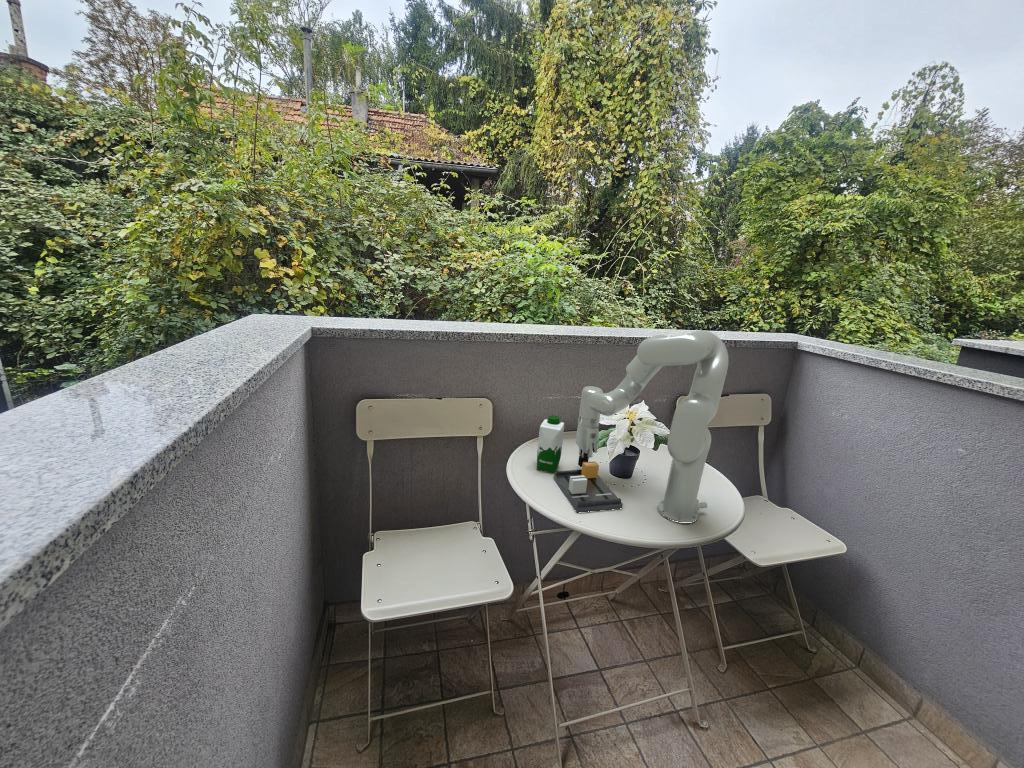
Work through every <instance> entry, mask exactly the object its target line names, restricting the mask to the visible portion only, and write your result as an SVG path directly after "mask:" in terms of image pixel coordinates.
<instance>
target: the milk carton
mask: <svg viewBox="0 0 1024 768" xmlns="http://www.w3.org/2000/svg"><path fill="white" fill-rule="evenodd" d="M564 431H565V422H564V421H563V422H562V421H560V417H559V416H557V415H553V414H551V415H549V416H548V419H546V418H545V419H544V420H543V421H542V423H541V424H540V426H539V430H538V433H539V434H538V440H537V450H536V451H537V452H536V470H537V471H541V472H543V473H544V472H545V473H549V474H553V475H554V474H556V471H558V467H559V465H560V463H561V462H560V461H561V456H562V450H563V442H564Z"/></svg>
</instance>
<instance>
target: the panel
mask: <svg viewBox="0 0 1024 768" xmlns="http://www.w3.org/2000/svg"><path fill="white" fill-rule="evenodd" d="M581 471H582V469H569V470H556V472H555V474H554V473H553V480H554V482H556V484H557V485H558V487H559V489H560V490H561V492H562V494H563V495H564V496H565V498H566V500H568V502H569V503H571V504H570V505H571V506H573V507H572V508H573V510H574V511H575V510H576V511H575V512H576V513H577V514H580V513H579V512H586V513H591V512H590V511H596V512H601V511H600V510H606V511H613V510H612V509H617V510H621V509H620V508H622V509H623V506H624V503H623V502H622V498H620V497H618V496H617V495H616V494H615V493H614V492H613V490H612V489H611V488H610V487H609V486H608V484H607V483H606V482H605V481H604V480H603V478H601V477H600V476H599V475H597V478H588V479H587V487H586V493H580V494H571V492H570V491H569V482H570V476H582V475H581ZM588 511H589V512H588Z"/></svg>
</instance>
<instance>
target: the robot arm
mask: <svg viewBox="0 0 1024 768" xmlns="http://www.w3.org/2000/svg"><path fill="white" fill-rule="evenodd" d="M694 364H697V367H696V369H695V371H694V375H693V378H692V384H691V386H690V390H689V393H688V394H687V396H686V397H684V398H683V399H681V400H680V401H679V403H678V404H677V406H676V408H675V410H674V413H673V417H672V421H671V426H670V430H669V434H668V438H667V441H666V442H667V451H668V454H669V455H670V456H671V459H672V460H671V463H670V469H669V474H668V478H667V483H666V488H665V493H664V499H663V500H661V501H659V502H658V504H657V511H658V510H659V511H658V513H659V512H660V513H661V514H662V515H664V516H665V517H667V518H669V519H671V520H674V521H678V522H693V521H695V520H698V519H697V518H699V513H698V511H699V509H707V508H708V504H707V502H706V501H702V502H701V501H699V499H698V495H699V490H700V486H701V481H702V476H703V473H704V469H705V465H706V461H707V457H708V454H709V451H710V448H711V445H712V434H711V431H710V429H709V428H708V425H709V424H710V422H711V421H712V420H713V419H714V418H715V417H716V415H717V413H718V409H719V405H720V401H721V396H722V393H723V390H724V385H725V381H726V378H727V377H726V376H727V374H728V368H729V352H728V349H727V347H726V344H725V343H724V342H723V340H721V338H719V337H718V336H717V335H716V334H715V333H712V332H711V331H707V330H697V331H693V332H690V333H688V334H683V335H676V336H675V335H673V336H667V335H663V334H657V335H654V336H651V337H650V336H649V337H647V338H645V339H644V340H642V341H641V342H640V343H639V345H638V347H637V350H636V355H635V357H634V358H633V359H632V360H631V361H630V362H629V363H628V364H627V365H626V368H625V370H626V375H625V377H624V378H623V380H621V382H620V383H619V384H618V385H617V387H615V388H614V389H613V390H611V391H608V392H605V393H604V391H603V389H602V388H600V387H597V386H592V385H590V386H589V385H588V386H587V385H586V386H584V387H583V388H582V391H581V395H580V405H579V413H578V419H577V429H576V434H575V444H576V445H577V446H578V454H579V455H578V463H577V465H578V466H579V468H582V464H583V462H589V459H590V458H593V454H594V453H595V454H597V453H598V449H599V447H598V448H597V447H596V441H597V439H598V438H600V432H599V431H600V430H599V426H600V420H601V415H603V416H606V417H611V416H614V415H615V414H618V413H619V412H620V411H623V410H624V409H626V408H627V407H628V406H629V405H630V404H631V403H632V402H633V401H634V400H635V399H636V398H637V397H638V396H639V395H640V394H641V393H642V391H643V390H644V388H645V387H646V386H647V384H648V383H649V382H650V380H652V378H653V377H654V376H656V375H657V373H658V372H659V371H660V370H661V369H662V368H663V367H666V366H667V367H669V366H670V367H671V366H686V365H694ZM660 513H659V514H660ZM661 514H660V515H661ZM662 515H661V516H662ZM664 516H663V517H664ZM665 517H664V518H665ZM667 518H666V519H667ZM669 519H668V520H669ZM671 520H670V521H671ZM695 522H696V521H695Z"/></svg>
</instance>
